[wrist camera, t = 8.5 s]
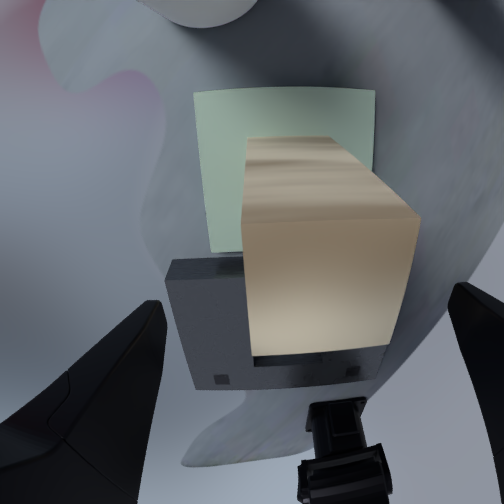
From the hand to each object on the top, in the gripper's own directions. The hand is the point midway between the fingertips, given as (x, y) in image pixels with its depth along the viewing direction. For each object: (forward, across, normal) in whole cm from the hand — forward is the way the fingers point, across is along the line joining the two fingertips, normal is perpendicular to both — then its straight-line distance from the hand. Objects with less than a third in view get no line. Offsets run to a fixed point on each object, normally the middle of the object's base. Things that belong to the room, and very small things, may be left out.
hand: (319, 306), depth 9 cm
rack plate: (+12, 0, +12) cm, 17 cm away
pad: (+12, 0, 0) cm, 12 cm away
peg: (+11, 0, 0) cm, 11 cm away
